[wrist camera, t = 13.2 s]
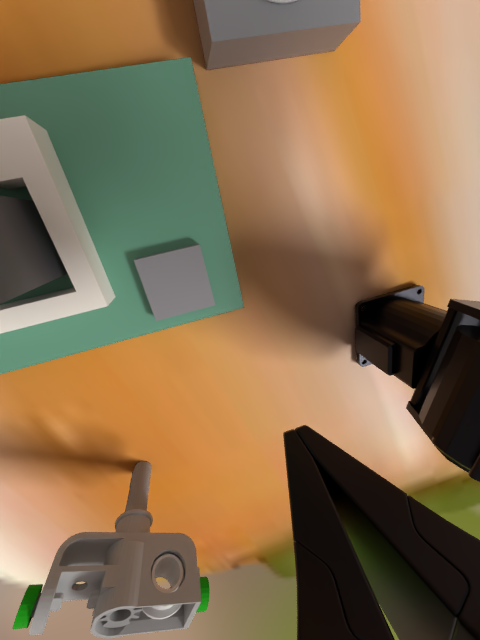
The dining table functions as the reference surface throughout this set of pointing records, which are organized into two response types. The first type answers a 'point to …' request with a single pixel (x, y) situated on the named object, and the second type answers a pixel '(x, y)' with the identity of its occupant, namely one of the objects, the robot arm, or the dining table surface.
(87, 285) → the board
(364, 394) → the dining table surface
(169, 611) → the mechanical component
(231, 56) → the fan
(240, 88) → the dining table surface
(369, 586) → the robot arm
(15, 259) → the plug
